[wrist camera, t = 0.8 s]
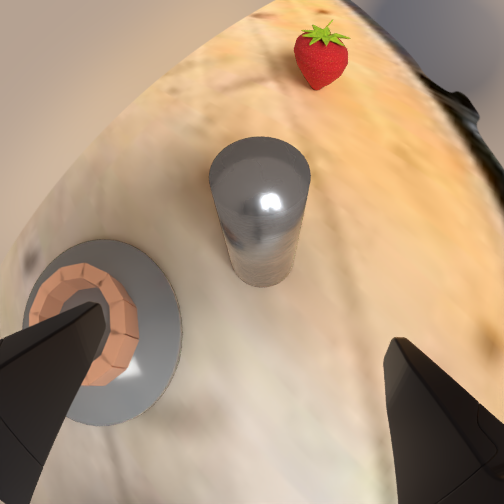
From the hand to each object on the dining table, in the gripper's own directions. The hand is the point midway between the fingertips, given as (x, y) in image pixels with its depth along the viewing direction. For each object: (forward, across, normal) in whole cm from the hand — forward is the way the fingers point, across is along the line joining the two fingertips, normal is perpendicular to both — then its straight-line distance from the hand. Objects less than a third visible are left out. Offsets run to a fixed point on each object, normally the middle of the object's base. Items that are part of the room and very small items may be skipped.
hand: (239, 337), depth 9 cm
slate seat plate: (+10, +14, +10) cm, 20 cm away
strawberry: (+33, -4, -10) cm, 34 cm away
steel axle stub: (+16, 0, +5) cm, 17 cm away
